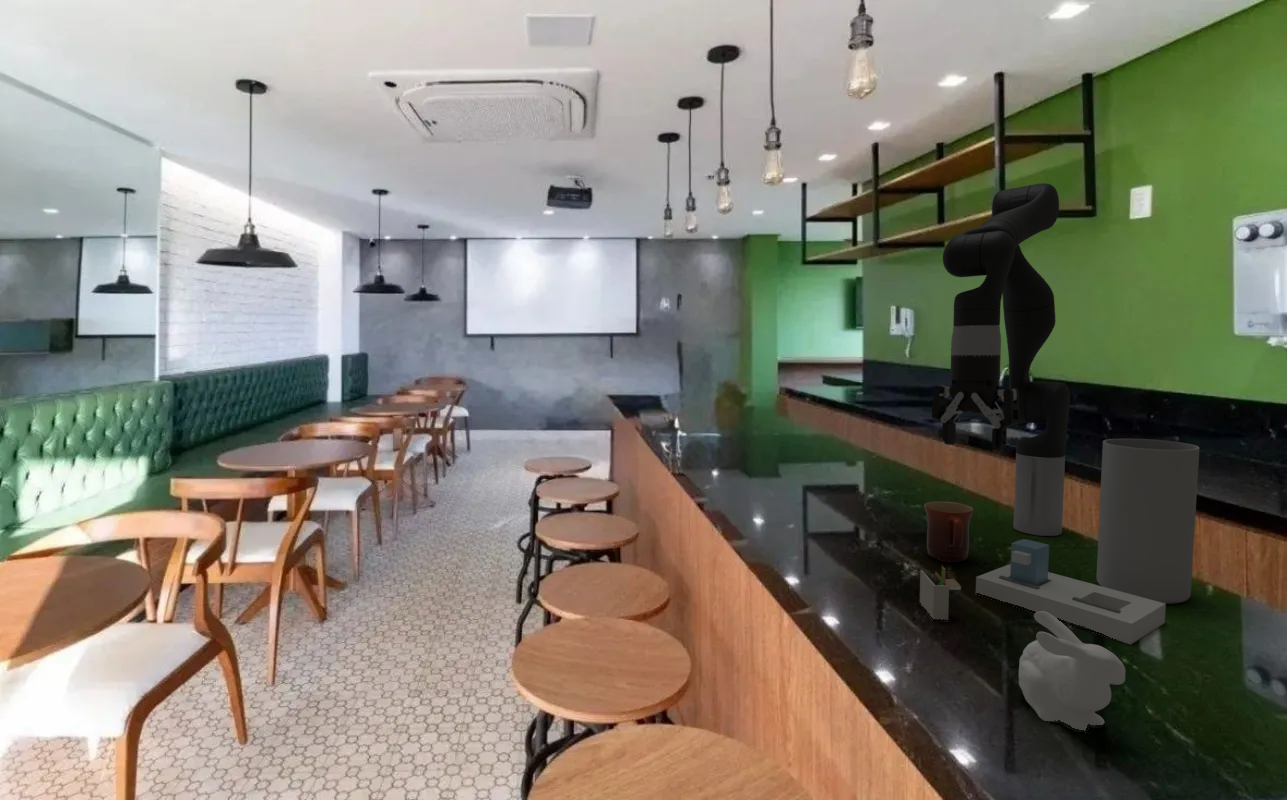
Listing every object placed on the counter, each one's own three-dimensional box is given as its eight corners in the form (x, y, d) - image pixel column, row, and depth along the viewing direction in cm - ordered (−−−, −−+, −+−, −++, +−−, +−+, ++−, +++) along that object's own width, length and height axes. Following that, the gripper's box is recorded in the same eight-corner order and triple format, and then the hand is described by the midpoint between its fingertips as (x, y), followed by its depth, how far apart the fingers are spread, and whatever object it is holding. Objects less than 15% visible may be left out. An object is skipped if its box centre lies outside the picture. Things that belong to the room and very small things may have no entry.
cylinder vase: (1169, 581, 111) (1177, 440, 109) (1205, 609, 100) (1215, 451, 97) (1086, 574, 115) (1092, 437, 113) (1111, 600, 104) (1118, 448, 102)
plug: (1021, 590, 108) (1023, 538, 108) (1047, 597, 105) (1049, 544, 104) (1005, 597, 106) (1006, 544, 105) (1030, 605, 102) (1032, 551, 101)
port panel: (1013, 579, 114) (1013, 561, 113) (1164, 623, 95) (1165, 601, 95) (975, 594, 107) (976, 575, 107) (1130, 644, 89) (1131, 621, 88)
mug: (918, 549, 130) (919, 500, 129) (964, 551, 129) (966, 502, 128) (932, 570, 119) (934, 516, 118) (983, 572, 117) (985, 518, 116)
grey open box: (945, 606, 104) (946, 558, 103) (960, 624, 97) (961, 573, 96) (919, 605, 104) (920, 557, 103) (932, 623, 97) (934, 572, 97)
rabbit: (1133, 742, 67) (1139, 632, 66) (1048, 746, 67) (1053, 636, 66) (1053, 681, 79) (1057, 588, 78) (981, 685, 79) (984, 591, 78)
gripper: (1030, 352, 104) (1027, 450, 106) (949, 352, 116) (947, 440, 118) (1005, 353, 100) (1001, 455, 102) (924, 353, 112) (922, 444, 114)
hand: (972, 447), depth 110 cm, fingers open, 8 cm apart
